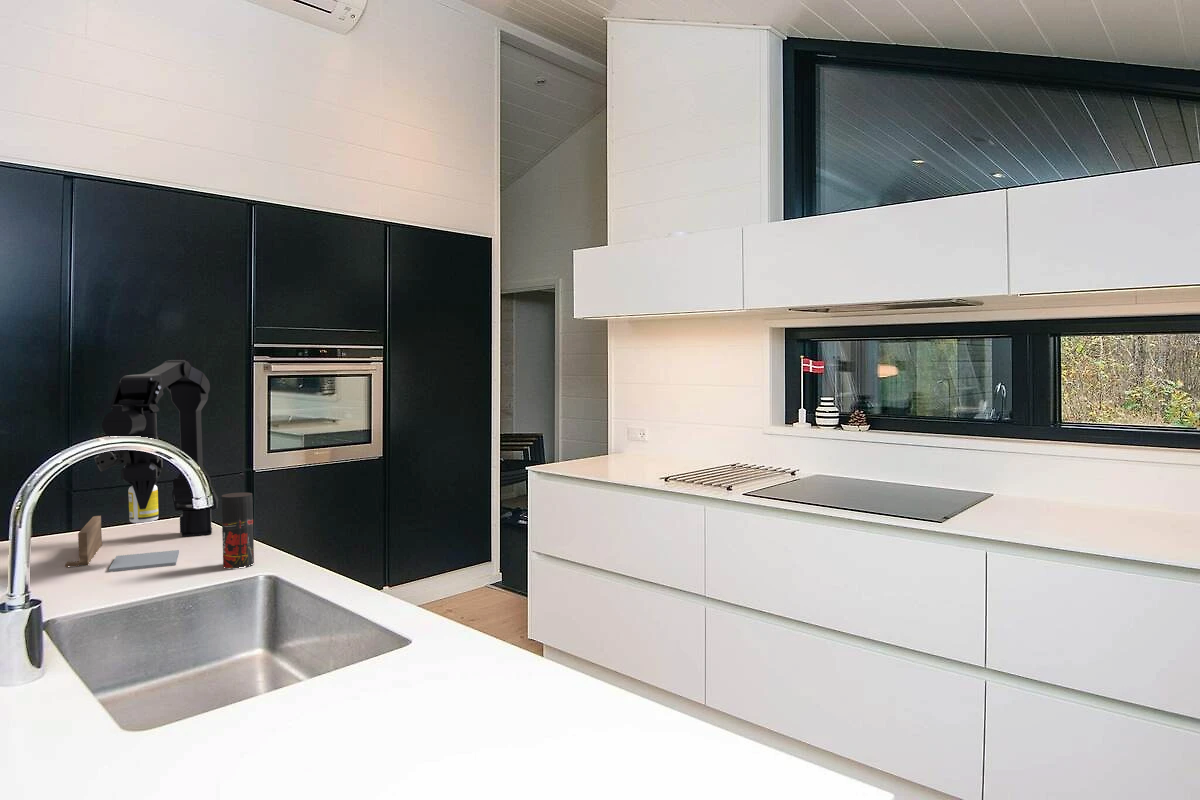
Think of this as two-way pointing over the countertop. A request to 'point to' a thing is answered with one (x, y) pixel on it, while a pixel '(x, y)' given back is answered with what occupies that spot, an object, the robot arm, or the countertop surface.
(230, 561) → the deodorant
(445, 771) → the countertop surface
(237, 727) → the countertop surface
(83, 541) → the screen
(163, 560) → the mat
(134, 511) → the supplement bottle
